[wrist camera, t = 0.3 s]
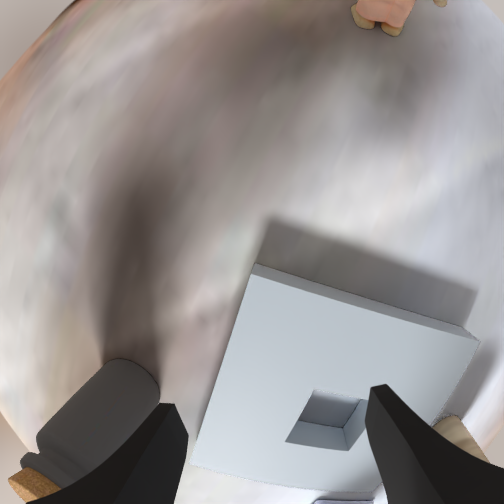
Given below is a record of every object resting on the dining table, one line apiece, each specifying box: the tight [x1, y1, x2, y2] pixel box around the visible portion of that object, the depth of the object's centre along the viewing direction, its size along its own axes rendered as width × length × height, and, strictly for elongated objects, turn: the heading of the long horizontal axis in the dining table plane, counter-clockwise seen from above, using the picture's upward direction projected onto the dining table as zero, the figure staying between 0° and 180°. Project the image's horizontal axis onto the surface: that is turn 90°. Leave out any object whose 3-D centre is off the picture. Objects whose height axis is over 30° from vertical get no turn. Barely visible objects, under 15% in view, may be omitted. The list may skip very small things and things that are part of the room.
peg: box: [433, 415, 490, 463], centre depth 17 cm, size 4×4×8 cm
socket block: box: [189, 263, 480, 492], centre depth 19 cm, size 18×18×3 cm
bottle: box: [8, 359, 160, 502], centre depth 15 cm, size 6×6×15 cm
